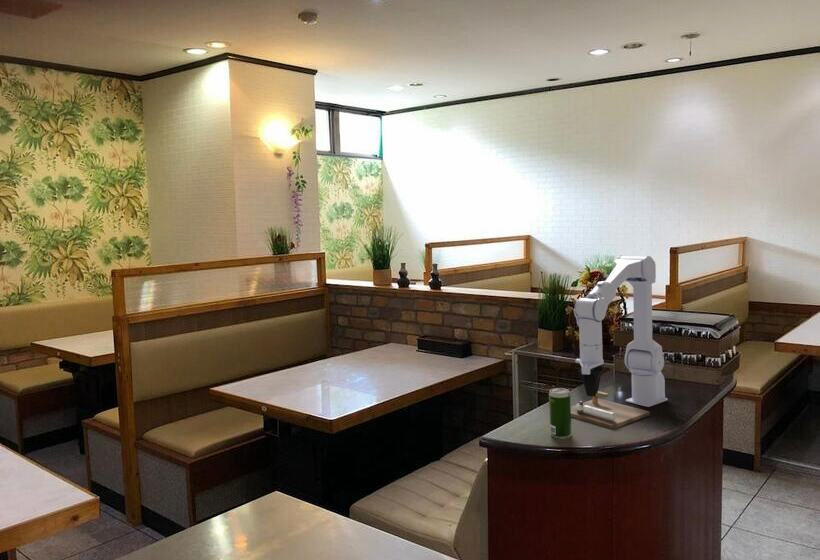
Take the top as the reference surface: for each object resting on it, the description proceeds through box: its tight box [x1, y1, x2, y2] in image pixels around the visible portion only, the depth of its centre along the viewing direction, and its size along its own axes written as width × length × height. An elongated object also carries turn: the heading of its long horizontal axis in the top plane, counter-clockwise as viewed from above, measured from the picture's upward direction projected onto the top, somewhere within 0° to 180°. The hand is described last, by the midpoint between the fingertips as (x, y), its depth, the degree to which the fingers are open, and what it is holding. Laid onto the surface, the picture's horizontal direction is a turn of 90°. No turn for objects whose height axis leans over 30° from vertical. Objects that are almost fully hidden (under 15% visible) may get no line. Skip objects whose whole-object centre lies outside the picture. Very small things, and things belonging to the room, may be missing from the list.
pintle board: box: [571, 390, 651, 430], centre depth 184 cm, size 16×18×4 cm
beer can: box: [548, 387, 572, 440], centre depth 169 cm, size 5×5×12 cm
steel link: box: [575, 400, 615, 421], centre depth 179 cm, size 12×3×3 cm, turn 35°
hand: (592, 394), depth 172 cm, fingers open, 2 cm apart
